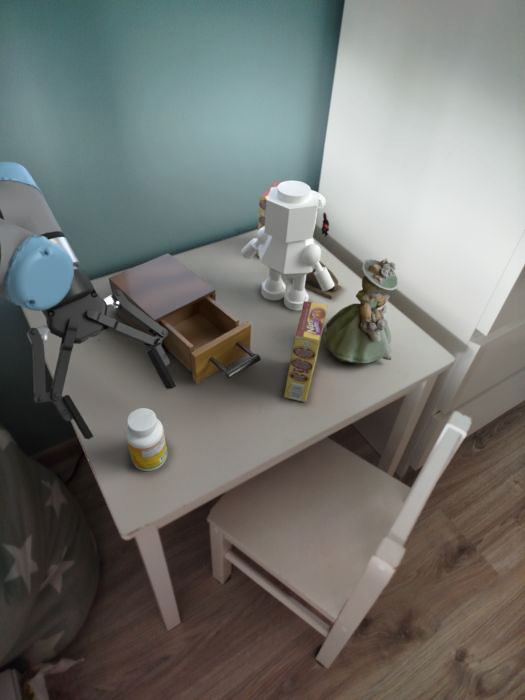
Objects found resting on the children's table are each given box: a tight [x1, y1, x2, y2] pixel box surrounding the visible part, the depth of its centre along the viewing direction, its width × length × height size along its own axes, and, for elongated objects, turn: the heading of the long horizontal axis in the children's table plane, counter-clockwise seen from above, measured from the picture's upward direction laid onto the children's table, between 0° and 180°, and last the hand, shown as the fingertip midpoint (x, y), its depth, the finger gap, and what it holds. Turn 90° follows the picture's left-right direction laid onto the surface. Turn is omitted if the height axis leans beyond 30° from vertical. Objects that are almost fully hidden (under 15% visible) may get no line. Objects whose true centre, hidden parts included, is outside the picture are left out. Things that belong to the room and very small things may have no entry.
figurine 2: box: [304, 260, 342, 300], centre depth 102 cm, size 14×4×9 cm, turn 56°
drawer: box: [159, 296, 262, 384], centre depth 84 cm, size 20×12×7 cm, turn 43°
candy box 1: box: [256, 181, 281, 257], centre depth 108 cm, size 9×4×15 cm, turn 154°
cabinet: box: [108, 252, 217, 352], centre depth 91 cm, size 16×14×9 cm
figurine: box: [322, 257, 399, 365], centre depth 83 cm, size 14×14×20 cm
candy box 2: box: [283, 301, 328, 403], centre depth 78 cm, size 9×4×15 cm, turn 167°
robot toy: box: [241, 179, 335, 312], centre depth 92 cm, size 22×12×25 cm, turn 58°
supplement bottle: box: [124, 407, 168, 472], centre depth 68 cm, size 5×5×10 cm
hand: (132, 411), depth 67 cm, fingers open, 13 cm apart
